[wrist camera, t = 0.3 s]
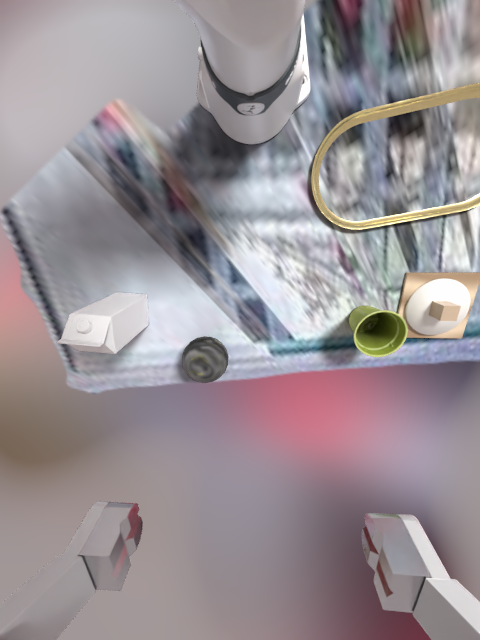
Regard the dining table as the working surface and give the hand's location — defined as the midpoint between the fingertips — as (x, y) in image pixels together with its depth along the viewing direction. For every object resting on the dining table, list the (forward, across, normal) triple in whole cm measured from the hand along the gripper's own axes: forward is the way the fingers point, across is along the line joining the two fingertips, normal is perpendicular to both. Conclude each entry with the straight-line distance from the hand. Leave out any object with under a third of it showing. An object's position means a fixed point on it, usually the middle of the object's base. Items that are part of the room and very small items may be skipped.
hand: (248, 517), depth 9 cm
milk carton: (+47, +28, +6) cm, 55 cm away
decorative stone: (+47, +11, +17) cm, 51 cm away
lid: (+46, -37, +7) cm, 60 cm away
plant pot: (+47, -23, +10) cm, 53 cm away
